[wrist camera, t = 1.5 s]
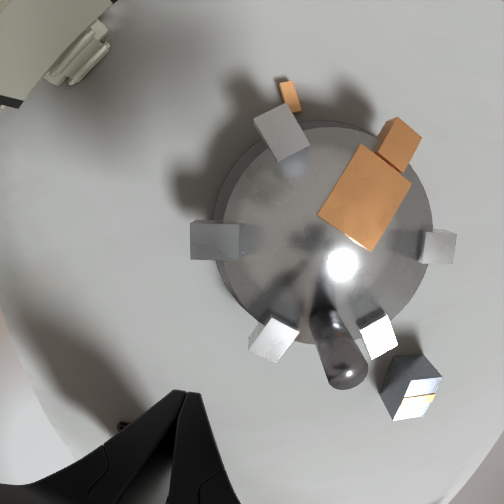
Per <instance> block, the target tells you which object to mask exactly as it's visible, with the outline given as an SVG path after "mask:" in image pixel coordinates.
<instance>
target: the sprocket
mask: <svg viewBox="0 0 504 504" xmlns="http://www.w3.org/2000/svg"><path fill="white" fill-rule="evenodd" d="M253 125H254V127H255V128H256V130H257V132H258V134H259V135H260V137H261V139H262V141H263V142H264V144H265V146H266V148H267V149H266V150H265V151H264V152H262V153H261V154H260V155H259V156H258V157H257V158H256V159H255V160H254V161H253V162H252V163H251V164H250V165H249V167H248V168H247V169H246V170H245V171H244V173H243V174H242V176H241V177H240V179H239V181H238V182H237V184H236V185H235V187H234V189H233V192H232V194H231V196H230V198H229V201H228V204H227V207H226V211H225V214H224V219H223V220H195V221H193V222H192V223H190V251H191V259H194V260H223V262H224V266H225V270H226V273H227V277H228V279H229V281H230V284H231V286H232V288H233V291H234V292H235V294H236V296H237V297H238V299H239V300H240V302H241V303H242V305H243V306H244V307H245V308H246V310H247V311H248V312H249V313H250V314H251V315H252V316H253V317H254V318H255V319H256V320H257V321H258V322H259V323H258V325H257V326H256V328H255V329H254V331H253V332H252V333H251V335H250V336H249V345H248V350H249V351H251V352H253V353H255V354H257V355H259V356H261V357H263V358H265V359H267V360H269V361H271V362H273V363H275V364H276V362H277V361H278V360H279V359H280V357H281V356H282V355H283V354H284V352H285V351H286V350H287V348H288V347H289V346H290V345H291V343H292V342H293V341H298V342H302V343H307V344H315V345H316V347H317V350H318V353H319V356H320V359H321V362H322V364H323V367H324V370H325V373H326V376H327V379H328V382H329V384H330V385H331V386H332V387H334V388H336V389H339V390H346V389H350V388H353V387H355V386H357V385H358V384H360V383H361V382H362V381H363V380H364V379H365V377H366V376H367V373H368V364H367V362H366V360H365V358H364V356H363V355H362V353H361V351H360V350H359V348H358V346H357V344H356V343H355V341H354V340H355V339H358V338H361V339H362V341H363V344H364V346H365V348H366V350H367V351H368V353H369V355H370V356H371V358H372V359H374V358H376V357H378V356H379V355H381V354H383V353H385V352H386V351H388V350H390V349H392V348H393V347H395V346H397V345H398V344H397V341H396V338H395V335H394V332H393V330H392V327H391V324H390V320H392V319H393V318H394V317H395V316H396V315H397V314H398V313H399V312H400V311H401V310H402V309H403V308H404V307H405V306H406V305H407V303H408V302H409V301H410V300H411V298H412V297H413V295H414V294H415V292H416V291H417V289H418V287H419V285H420V283H421V281H422V279H423V277H424V274H425V272H426V269H427V267H428V264H453V258H454V252H455V245H456V237H457V234H455V233H452V232H449V231H446V230H440V229H433V224H432V214H431V209H430V205H429V201H428V198H427V195H426V193H425V190H424V187H423V185H422V184H421V182H420V180H419V178H418V176H417V174H416V173H415V172H414V170H413V169H412V167H411V166H410V164H409V162H410V160H411V158H412V156H413V154H414V152H415V150H416V149H417V147H418V145H419V143H420V141H421V139H422V137H421V136H420V135H418V134H417V133H416V132H415V131H414V130H413V129H412V128H410V127H409V126H408V125H407V124H406V123H404V122H403V121H402V120H401V119H400V118H398V117H396V118H393V119H391V120H388V121H386V123H385V124H384V126H383V128H382V130H381V131H380V133H379V135H378V137H377V138H376V137H374V136H371V135H369V134H367V133H364V132H361V131H357V130H353V129H348V128H340V127H320V128H314V129H309V130H304V131H302V129H301V127H300V125H299V124H298V122H297V120H296V119H295V117H294V115H293V113H292V112H291V110H290V108H289V107H288V105H287V103H284V104H282V105H280V106H278V107H276V108H274V109H272V110H270V111H268V112H266V113H263V114H261V115H259V116H258V117H256V118H254V119H253Z"/></svg>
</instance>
